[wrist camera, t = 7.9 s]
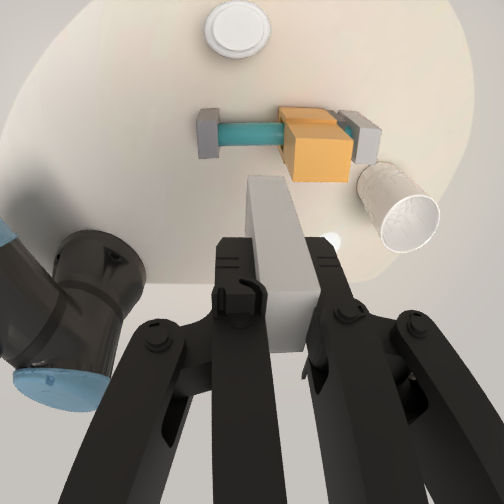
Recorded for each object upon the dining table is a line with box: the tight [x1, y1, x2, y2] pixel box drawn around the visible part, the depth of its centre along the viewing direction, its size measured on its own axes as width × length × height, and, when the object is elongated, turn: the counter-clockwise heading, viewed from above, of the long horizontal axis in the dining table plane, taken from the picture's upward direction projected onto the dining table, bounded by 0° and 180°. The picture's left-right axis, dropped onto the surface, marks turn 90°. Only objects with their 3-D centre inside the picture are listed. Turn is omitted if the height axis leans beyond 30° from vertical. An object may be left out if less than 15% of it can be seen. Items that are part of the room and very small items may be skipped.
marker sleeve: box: [278, 107, 354, 183], centre depth 30 cm, size 5×5×10 cm
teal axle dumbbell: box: [196, 108, 382, 165], centre depth 32 cm, size 18×5×7 cm, turn 90°
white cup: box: [357, 162, 440, 253], centre depth 36 cm, size 8×8×10 cm
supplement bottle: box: [204, 0, 271, 59], centre depth 24 cm, size 6×6×10 cm
